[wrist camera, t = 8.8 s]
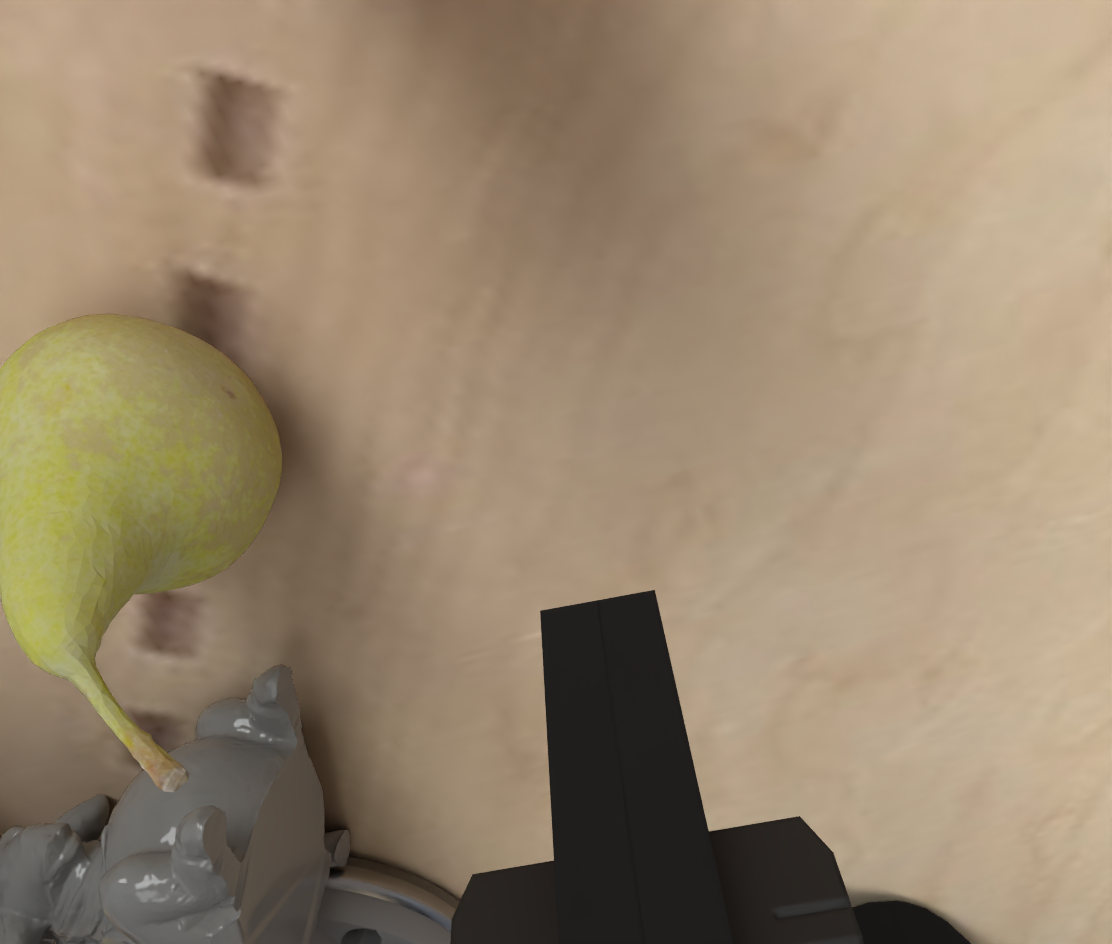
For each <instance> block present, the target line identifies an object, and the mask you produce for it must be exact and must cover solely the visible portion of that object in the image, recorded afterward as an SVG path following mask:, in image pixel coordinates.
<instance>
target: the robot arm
mask: <svg viewBox="0 0 1112 944" xmlns="http://www.w3.org/2000/svg"><path fill="white" fill-rule="evenodd" d="M540 613H541V631H542V649H543V667H544V685H545V703H546V721H547V740H548V758H549V776H550V794H551V812H552V830H553V848H554V861H549V862H543V863H537V864H531V865H526V866H520V867H514V868H508V869H502V870H496V871H490V872H484V873H478V874H473V875H472V877H471V879H470V881H469V883H468V885H467V888H466V890H465V892H464V894H463V896H462V898H461V900H460V902H459V901H458V900H457V899H455V898H454V897H452V896H451V895H450V894H448V893H446V892H445V891H443V890H441V889H440V888H438V887H437V886H435V885H433V884H431V883H429V882H427V881H425V880H423V879H421V878H419V877H417V876H414V875H412V874H409V873H407V872H404V871H402V870H399V869H396V868H393V867H390V866H387V865H383V864H380V863H376V862H372V861H368V860H364V859H359V858H353V857H348V858H347V863H346V865H345V867H344V866H343V867H339V866H336V867H332V868H331V867H330V872H329V878H328V881H327V884H326V885H325V888H324V893H323V896H322V899H321V907H320V910H319V913H318V918H317V923H316V925H317V926H316V929H315V932H314V934H313V937H312V939H311V942H310V944H864V942H863V937H862V934H861V931H860V928H859V925H858V922H857V919H856V917H855V914H854V911H853V908H851V905H850V900H849V897H848V894H847V891H846V888H845V885H844V882H843V879H842V877H841V874H840V871H839V868H838V865H837V862H836V859H835V856H834V854H833V852H832V851H831V850H830V849H829V848H828V846H827V845H826V844H825V843H824V842H823V841H822V840H821V839H820V838H819V837H818V836H817V835H816V833H815V832H814V831H813V830H812V829H811V828H810V827H809V826H808V825H807V824H806V823H805V822H804V820H803V819H802V818H801V817H800V816H799V817H793V818H787V819H781V820H775V821H769V822H763V823H757V824H751V825H745V826H740V827H734V828H728V829H722V830H716V831H710V832H709V831H708V827H707V822H706V818H705V814H704V809H703V805H702V800H701V796H700V791H699V787H698V782H697V778H696V773H695V769H694V764H693V760H692V755H691V751H690V746H689V742H688V737H687V733H686V728H685V724H684V719H683V715H682V710H681V706H680V701H679V697H678V693H677V688H676V684H675V679H674V675H673V670H672V666H671V661H670V657H669V652H668V648H667V643H666V639H665V634H664V630H663V625H662V621H661V616H660V612H659V607H658V603H657V598H656V594H655V590H652V591H647V592H641V593H636V594H630V595H625V596H619V597H614V598H608V599H603V600H597V601H592V602H586V603H581V604H575V605H570V606H564V607H559V608H553V609H548V610H542V611H540Z"/></svg>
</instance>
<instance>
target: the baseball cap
mask: <svg viewBox="0 0 1112 944" xmlns="http://www.w3.org/2000/svg"><path fill="white" fill-rule="evenodd" d="M853 911H854V914H855V917H856V919H857V922H858V925H859V928H860V931H861V934H862V937H863V942H864V944H971V943H970V942H969V941H968V940H967V939H966V938H965V937H963V936H962V935H961V934H960V933H959V932H958V931H957V930H956V929H955V928H954V927H953V926H951V925H950V924H949V923H948V922H947V921H945V920H944V919H942V918H941V917H939V916H937V915H936V914H934V913H932V912H931V911H929V910H928V909H926V908H923V907H920V906H916V905H913V904H910V903H905V902H900V901H886V902H870V903H866V904H863V905H860V906H857V907H854V908H853Z"/></svg>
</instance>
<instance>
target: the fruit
mask: <svg viewBox="0 0 1112 944" xmlns="http://www.w3.org/2000/svg"><path fill="white" fill-rule="evenodd" d="M281 470H282V453H281V446H280V439H279V435H278V431H277V428H276V425H275V423H274V420H273V418H272V416H271V414H270V412H269V410H268V408H267V406H266V404H265V402H264V401H263V399H262V397H261V396H260V394H259V392H258V391H257V389H256V387H255V386H254V384H253V382H252V381H251V380H250V379H249V378H248V377H247V375H246V374H245V373H244V372H243V371H242V370H241V369H240V368H239V367H238V366H237V365H236V364H235V363H234V362H232V361H231V360H230V359H229V358H228V357H226V356H225V355H224V354H223V353H221V352H220V351H218V350H217V349H215V348H214V347H212V346H211V345H209V344H208V343H206V342H205V341H203V340H201V339H199V338H197V337H195V336H193V335H191V334H188V333H186V332H184V331H182V330H180V329H177V328H174V327H171V326H168V325H165V324H162V323H158V322H155V321H152V320H148V319H145V318H141V317H134V316H128V315H119V314H96V315H86V316H82V317H78V318H73V319H70V320H67V321H65V322H62V323H59V324H57V325H54V326H52V327H50V328H47V329H46V330H44V331H42V332H40V333H38V334H37V335H35V336H34V337H32V338H31V339H30V340H29V341H27V342H26V343H25V344H24V345H23V346H21V347H20V348H19V349H18V350H16V351H15V352H14V353H13V354H12V355H11V356H10V357H9V358H8V360H7V361H6V362H5V363H4V365H3V366H2V367H1V369H0V595H1V600H2V605H3V609H4V612H5V615H6V618H7V620H8V623H9V625H10V628H11V630H12V632H13V634H14V637H15V639H16V640H17V642H18V643H19V645H20V647H21V648H22V649H23V651H24V652H25V654H26V655H27V656H28V658H29V659H30V660H31V662H33V663H34V664H35V665H36V666H38V667H39V668H41V669H42V670H44V671H46V672H48V673H50V674H52V675H55V676H58V677H61V678H64V679H67V680H70V681H71V682H72V683H73V684H74V685H75V686H76V687H77V688H78V689H79V690H80V691H81V692H82V694H83V695H84V696H85V697H86V698H87V699H88V701H89V702H90V703H91V704H92V706H93V707H94V708H95V710H96V711H97V712H98V713H99V715H100V716H101V717H102V718H103V719H104V721H105V722H106V723H107V725H108V726H109V727H110V729H111V730H112V731H113V733H114V734H115V735H116V736H117V737H118V738H119V739H120V740H121V741H122V742H123V743H124V744H125V745H126V747H127V748H128V750H129V751H130V753H131V754H132V756H133V757H134V758H135V759H136V760H137V761H138V762H139V763H140V765H141V767H142V768H143V769H144V770H145V771H146V772H148V774H149V775H150V777H151V778H152V780H153V781H154V783H155V785H156V786H157V787H159V788H160V789H161V790H163V791H164V792H175V791H177V790H178V789H179V788H180V787H181V785H183V784H185V783H186V782H188V779H189V773H188V772H187V770H186V769H185V768H184V767H183V765H182V764H180V763H179V762H177V761H176V760H174V759H173V758H172V757H171V756H170V755H169V754H168V753H167V752H166V751H164V750H163V749H162V748H161V747H160V746H159V745H158V744H156V743H155V742H154V741H153V739H152V736H151V734H148V733H146V732H144V731H142V730H141V729H140V728H139V727H138V726H137V725H136V724H135V723H134V722H133V721H132V720H131V719H130V718H129V717H128V716H127V715H126V714H125V712H124V711H123V710H122V709H121V707H120V706H119V705H118V703H117V702H116V700H115V699H114V697H113V696H112V694H111V693H110V691H109V689H108V688H107V686H106V684H105V683H104V681H103V679H102V677H101V675H100V673H99V671H98V669H97V667H96V662H95V655H96V652H97V650H98V649H99V647H100V644H101V640H102V636H103V634H104V633H105V631H106V630H107V628H108V626H109V624H110V623H111V621H112V620H113V618H114V617H115V616H116V615H117V613H118V612H119V611H120V609H121V608H122V607H123V606H124V605H125V604H126V603H127V602H128V601H129V599H130V598H131V597H132V595H134V594H145V593H155V592H162V591H167V590H172V589H176V588H181V587H185V586H190V585H192V584H196V583H199V582H201V581H204V580H206V579H208V578H211V577H213V576H215V575H216V574H218V573H220V572H221V571H223V570H225V569H226V568H227V567H228V566H230V565H231V564H232V563H233V562H235V561H236V560H237V559H238V558H239V557H240V556H241V555H242V554H243V553H244V552H245V550H246V549H247V548H248V547H249V545H250V544H251V543H252V541H253V540H254V539H255V537H256V536H257V534H258V533H259V531H260V529H261V528H262V526H263V524H264V522H265V520H266V518H267V516H268V513H269V511H270V509H271V507H272V504H273V502H274V499H275V496H276V493H277V489H278V486H279V483H280V479H281Z"/></svg>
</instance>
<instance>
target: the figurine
mask: <svg viewBox="0 0 1112 944" xmlns="http://www.w3.org/2000/svg"><path fill="white" fill-rule="evenodd" d="M291 674H292V671H291V667H287V666H284V665H282V664H280V665H277V666H274V667H272V668H270V669H268V670H267V671H265V672H264V673H263V674H261V675H260V676H259V677H257V678H255V679H254V682H253V685H252V688H251V692H250V694H249V695H248V696H247V699H246V700H245V699H237V698H229V699H225V700H221V701H217V702H215V703H213V704H211V705H209V706H208V707H207V708H205V709H204V710H203V711H202V713H201V714H200V716H199V718H198V721H197V725H196V740H193V741H190V742H187V743H185V744H182V745H180V746H178V747H176V748H173V749H171V750H170V751H168V752H167V753H168V754H169V755H170V756H171V757H172V758H173V759H174V760H176V761H177V762H179V763H180V764H182V765H183V767H184V768H185V769H186V770H187V772H188V773H189V779H188V782H186V783H185V784H183V785H181V787H180V788H179V789H178V790H177V791H175V792H164V791H163V790H161V789H160V788H159V787H157V786H156V785H155V783H154V781H153V780H152V778H151V777H150V775H149V774H148V772H146V771H145V770H144V769H143V770H142V771H140V772H139V773H138V775H137V776H136V777H135V778H134V779H133V780H132V782H131V783H130V784H129V786H128V787H127V788H126V790H125V791H124V793H123V795H122V796H121V798H120V800H119V801H118V803H117V805H116V806H115V808H114V810H113V811H112V813H111V816H110V819H109V823H108V825H106V826H105V824H106V821H107V818H108V815H109V801H108V799H107V797H106V796H104V795H103V794H98V795H96V796H94V797H92V798H91V799H89V800H87V801H85V802H84V803H82V804H79V805H78V806H76V807H74V808H72V809H70V810H69V811H67V812H66V813H65V814H63V815H62V816H61V817H60V818H59V819H57V820H56V821H55V822H54V823H42V824H37V825H33V826H29V827H27V828H24V827H22V826H14V827H11V828H10V829H8V830H7V831H6V832H5V833H4V834H3V836H2V837H1V839H0V944H55V942H56V944H310V942H311V939H312V937H313V934H314V932H315V929H316V926H317V925H316V923H317V918H318V913H319V910H320V907H321V899H322V896H323V893H324V888H325V885H326V884H327V881H328V878H329V872H330V867H331V868H332V867H336V866H339V867H343V866H344V867H345V865H346V863H347V858H348V857H349V853H350V843H351V842H350V837H349V835H350V832H349V831H348V830H347V829H346V830H343V829H342V830H337V831H332V832H327V833H324V831H325V830H324V822H325V819H324V816H325V812H324V802H323V792H322V788H321V784H320V781H319V778H318V777H317V774H316V772H315V769H314V766H313V764H312V761H311V758H308V752H307V748H306V746H305V744H304V738H303V734H302V732H301V728H302V723H301V721H300V708H299V703H298V699H297V696H296V690H295V688H294V684H293V682H292V680H293V679H292V678H291ZM104 826H105V827H104ZM103 828H104V829H103ZM101 833H102V834H101ZM100 835H101V840H97V839H98V838H99V836H100Z"/></svg>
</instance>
